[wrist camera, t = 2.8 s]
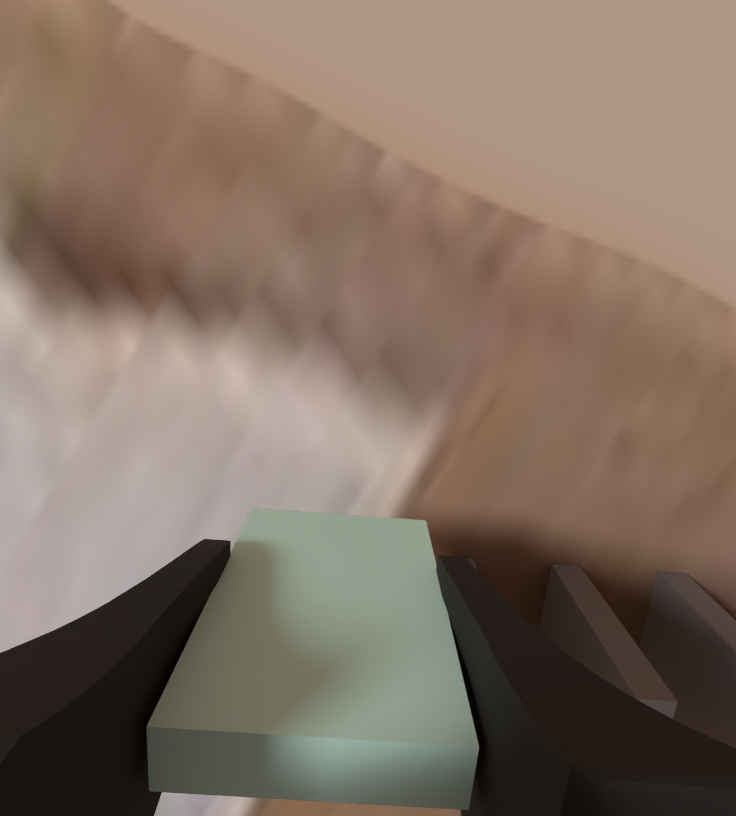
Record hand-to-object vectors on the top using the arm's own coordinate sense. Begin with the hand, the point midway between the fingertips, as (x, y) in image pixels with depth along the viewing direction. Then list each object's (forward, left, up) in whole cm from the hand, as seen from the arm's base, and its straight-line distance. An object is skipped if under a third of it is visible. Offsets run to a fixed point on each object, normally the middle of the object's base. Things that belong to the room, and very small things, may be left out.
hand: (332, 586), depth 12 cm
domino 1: (-11, +1, -8) cm, 14 cm away
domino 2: (-15, -1, -8) cm, 18 cm away
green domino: (0, 0, -2) cm, 2 cm away
